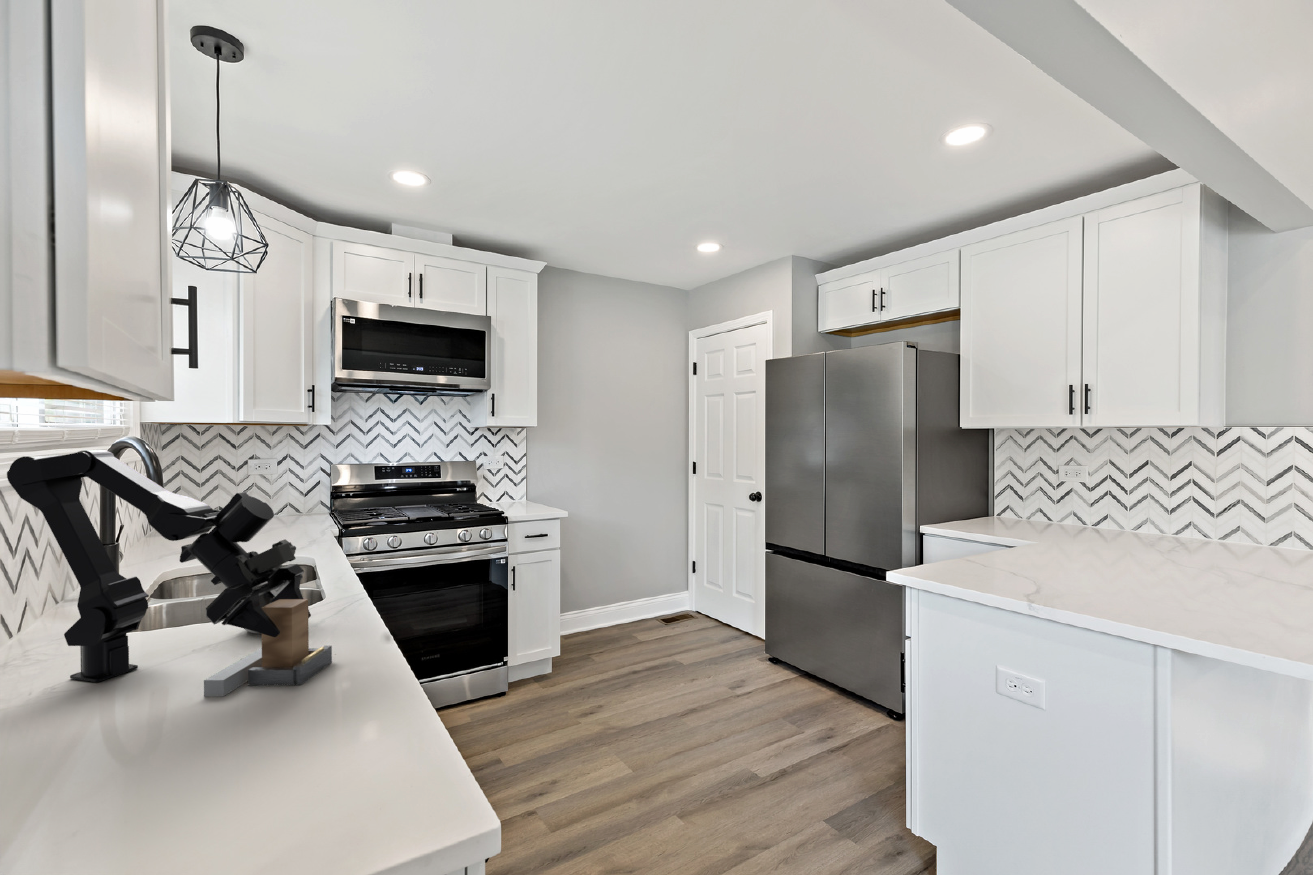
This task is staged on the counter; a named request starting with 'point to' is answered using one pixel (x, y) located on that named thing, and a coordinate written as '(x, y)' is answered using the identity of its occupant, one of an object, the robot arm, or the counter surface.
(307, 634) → the block
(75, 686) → the counter surface
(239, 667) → the door edge
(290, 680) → the keeper
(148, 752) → the counter surface
